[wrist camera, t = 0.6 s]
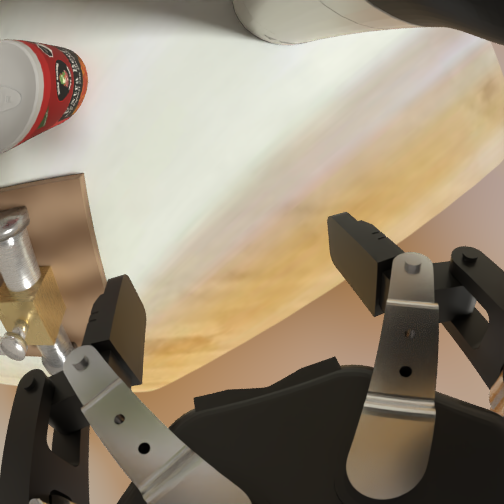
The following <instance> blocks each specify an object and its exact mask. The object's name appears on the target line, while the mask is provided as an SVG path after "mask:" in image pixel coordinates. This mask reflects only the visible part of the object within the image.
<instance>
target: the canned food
mask: <svg viewBox="0 0 504 504" xmlns="http://www.w3.org/2000/svg"><path fill="white" fill-rule="evenodd" d="M87 84H88V77H87V71H86V68H85V65H84V63H83V61H82V60H81V58H80V57H79V56H78V55H77V54H76V53H74V52H73V51H71V50H69V49H66V48H62V47H58V46H52V45H47V44H42V43H36V42H30V41H23V40H9V39H5V40H0V153H3V152H6V151H8V150H10V149H11V148H14V147H16V146H17V145H19V144H21V143H23V142H25V141H27V140H29V139H30V138H32V137H34V136H36V135H38V134H40V133H42V132H44V131H46V130H48V129H50V128H52V127H54V126H56V125H59V124H61V123H63V122H64V121H66V120H67V119H69V118H70V117H71V116H72V115H73V114H74V113H75V112H76V111H77V109H78V108H79V107H80V105H81V103H82V101H83V99H84V97H85V94H86V90H87Z"/></svg>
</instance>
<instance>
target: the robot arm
mask: <svg viewBox="0 0 504 504" xmlns="http://www.w3.org/2000/svg"><path fill="white" fill-rule="evenodd" d="M233 6H234V10H235V12H236V15H237V17H238V19H239V20H240V21H241V23H242V24H243V25H244V27H245V28H246V29H248V30H249V31H250V32H251V33H252V34H254V35H255V36H257V37H259V38H260V39H262V40H265V41H268V42H270V43H274V44H280V45H295V44H301V43H307V42H311V41H315V40H320V39H325V38H330V37H336V36H342V35H348V34H355V33H362V32H369V31H378V30H388V29H399V28H415V27H448V28H453V29H457V30H460V31H463V32H466V33H469V34H472V35H474V36H477V37H480V38H483V39H486V40H488V41H492V42H495V43H498V44H501V45H504V0H233ZM327 224H328V235H329V247H330V255H331V258H332V261H333V263H334V265H335V266H336V268H337V269H338V270H339V272H340V273H341V274H342V275H343V277H344V278H345V279H346V281H347V282H348V283H349V284H350V286H351V287H352V288H353V290H354V291H355V292H356V294H357V295H358V296H359V298H360V299H361V300H362V302H363V303H364V304H365V306H366V307H367V308H368V309H369V311H370V312H371V314H372V315H373V316H374V317H376V316H378V315H381V314H383V313H385V315H384V320H383V326H382V331H381V336H380V342H379V347H378V351H377V356H376V360H375V365H374V368H373V367H369V366H363V365H342V366H340V365H339V363H338V361H337V359H336V357H332V358H329V359H327V360H324V361H321V362H318V363H315V364H312V365H310V366H307V367H304V368H301V369H299V370H297V371H296V372H294V373H292V374H291V375H289V376H287V377H285V378H284V379H282V380H280V381H278V382H277V383H275V384H273V385H271V386H269V387H265V388H252V389H232V390H225V391H221V392H217V393H213V394H208V395H204V396H200V397H195V398H194V404H195V409H193V410H190V411H189V412H187V413H185V414H184V415H182V416H181V417H180V418H178V419H177V420H176V421H175V422H174V423H173V424H172V425H171V426H170V427H169V428H167V427H166V426H165V425H164V424H163V423H162V422H161V421H160V420H159V419H158V418H157V417H156V416H155V415H154V414H153V413H152V412H151V411H150V410H149V409H148V408H147V407H146V406H145V405H144V404H143V403H142V402H141V401H140V400H139V398H137V396H136V395H135V394H134V393H133V392H132V391H131V386H135V385H140V384H142V375H143V357H144V342H145V329H146V313H145V309H144V306H143V304H142V302H141V300H140V298H139V296H138V294H137V292H136V290H135V288H134V286H133V284H132V282H131V280H130V278H129V277H128V276H127V275H126V274H124V275H121V276H118V277H114V278H111V279H108V281H107V284H106V287H105V291H104V294H101V295H100V296H99V297H98V298H97V300H96V301H95V302H94V304H93V307H92V310H91V315H90V317H89V320H88V322H89V323H87V327H86V330H85V334H84V338H83V341H82V345H81V347H78V348H76V349H75V350H73V351H72V352H71V353H70V354H69V355H68V356H67V358H66V359H65V362H64V365H63V370H62V371H60V372H58V373H56V374H54V375H52V376H50V377H47V376H46V375H45V373H44V372H43V371H42V370H40V369H34V370H31V371H29V372H28V373H27V374H25V375H24V376H23V377H22V379H21V380H20V382H19V384H18V387H17V391H16V395H15V398H14V402H13V406H12V411H11V415H10V419H9V424H8V430H7V434H6V440H5V446H4V451H3V458H2V465H1V475H0V504H89V481H88V480H89V479H88V457H89V454H88V453H89V427H90V425H91V427H92V428H93V430H94V431H95V433H96V434H97V435H98V437H99V438H100V440H101V441H102V443H103V444H104V446H105V447H106V448H107V450H108V451H109V452H110V454H111V455H112V456H113V458H114V459H115V460H116V461H117V463H118V464H119V466H120V467H121V468H122V469H123V471H124V472H125V473H126V474H127V476H128V477H129V478H130V479H131V481H132V482H131V484H130V485H129V487H128V488H127V490H126V491H125V492H124V494H123V495H122V497H121V498H120V500H119V501H118V503H117V504H504V271H503V270H502V269H500V268H499V267H498V266H497V265H496V264H495V263H494V262H492V261H491V260H490V259H489V258H488V257H487V256H485V255H484V254H483V253H482V252H481V251H479V250H477V249H475V248H472V247H466V246H465V247H464V246H463V247H458V248H456V249H454V250H453V251H452V254H451V260H450V261H448V262H440V263H432V262H431V260H430V259H429V258H428V257H426V256H424V255H422V254H419V253H414V252H408V253H405V252H404V251H403V250H401V249H400V248H399V247H398V246H397V245H396V244H395V243H393V242H392V241H391V240H390V239H389V238H388V237H387V238H386V236H385V235H384V234H383V233H382V232H380V231H379V230H378V229H377V228H376V227H375V226H373V225H372V224H370V223H367V222H364V221H362V220H361V221H357V220H356V219H355V218H353V217H352V216H351V215H350V214H349V213H347V212H344V213H340V214H336V215H333V216H329V217H328V220H327ZM476 300H477V301H478V302H479V303H480V304H481V306H482V307H483V308H484V309H485V310H486V311H487V313H488V316H489V323H488V321H487V320H486V319H485V318H484V317H483V316H482V315H481V313H479V311H478V310H477V309H476V308H475V304H476ZM439 323H442V324H443V325H444V327H445V328H446V330H447V331H448V332H449V333H450V335H451V336H452V337H453V339H454V340H455V341H456V343H457V344H458V345H459V347H460V348H461V349H462V351H463V352H464V353H465V355H466V356H467V357H468V359H469V360H470V362H471V363H472V365H473V366H474V368H475V369H476V370H477V372H478V373H479V375H480V376H481V378H482V379H483V381H484V382H485V383H486V385H487V386H488V388H489V389H490V393H489V402H490V405H491V408H490V410H488V409H485V408H482V407H479V406H476V405H473V404H470V403H467V402H464V401H462V400H459V399H456V398H453V397H450V396H448V395H445V394H442V393H439V392H436V391H435V390H436V378H437V363H438V341H439V340H438V339H439ZM48 424H49V425H51V426H52V427H53V428H54V433H53V442H52V451H51V450H50V449H49V447H48V445H47V440H46V439H47V429H48Z"/></svg>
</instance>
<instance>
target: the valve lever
mask: <svg viewBox="0 0 504 504" xmlns="http://www.w3.org/2000/svg"><path fill="white" fill-rule="evenodd" d="M27 349H28V345H27V343H26V341H25V340H24V339H23V338H22V337H21V336H20V335H18V334H16V333H14V332H6V333H5V334H4V336H3V337H0V355H7V356H8V357H10V358H11V359H14V360H17V361H21V360H23V359H24V358H25V355H26V352H27Z"/></svg>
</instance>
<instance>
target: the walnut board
mask: <svg viewBox="0 0 504 504" xmlns="http://www.w3.org/2000/svg"><path fill="white" fill-rule="evenodd" d="M22 206H26V207H27V210H28V214H29V218H30V223H29V225H28V226H27V227H26V228H27V231H28V235H29V238H30V241H31V245H32V248H33V251H34V254H35V257H36V260H37V263H38V266H51V268H52V271H53V274H54V277H55V280H56V282H57V285H58V288H59V291H60V293H61V296H62V298H63V301H64V303H65V306H66V310H65V313H64V316H63V319H62V322H61V323H62V325H63V327H64V329H65V331H66V333H67V335H68V337H69V340H70V342H75V343H76V344H77V346H78V347H81V345H82V341H83V338H84V334H85V330H86V327H87V323H89V322H88V320H89V317H90V315H91V310H92V307H93V304H94V302H95V301H96V300H97V298H98V297H99V296H100V295H101V294H104V291H105V287H106V284H107V281H106V277H105V273H104V269H103V266H102V262H101V258H100V254H99V249H98V245H97V241H96V236H95V232H94V227H93V222H92V217H91V212H90V207H89V202H88V196H87V190H86V184H85V178H84V173H83V174H76V175H70V176H63V177H57V178H51V179H46V180H40V181H35V182H30V183H24V184H19V185H15V186H10V187H5V188H1V189H0V210H6V209H11V208H17V207H22ZM3 283H4V279H3V276H2V274H1V272H0V288H1V286H2V284H3ZM25 356H39V357H42V354H41V352H40V350H39V349H38V347H37V345H28V349H27V352H26V355H25Z"/></svg>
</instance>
